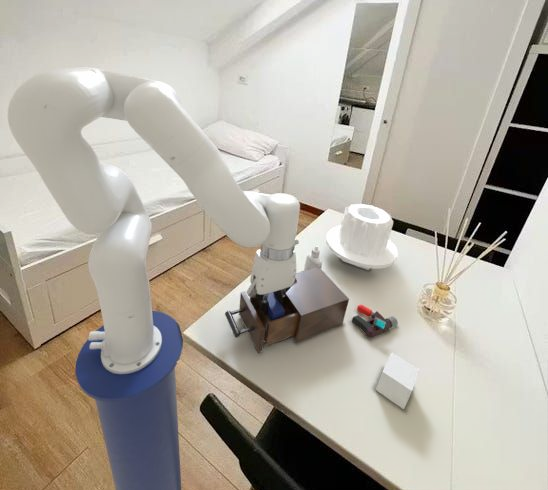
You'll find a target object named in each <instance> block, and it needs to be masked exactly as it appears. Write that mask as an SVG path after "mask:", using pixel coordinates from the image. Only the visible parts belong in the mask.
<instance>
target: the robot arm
mask: <svg viewBox="0 0 548 490" xmlns="http://www.w3.org/2000/svg"><path fill="white" fill-rule="evenodd" d="M100 118H107V119H112V120H117V121H118V120H119V121H124V122H127V123H128V125H129V127H131V129H133V131H134V132H135V133H136V134H137V135H138V136H139V137H140V138H141V139H142V140H143V141H144V143H146V144H147V145H148V146H149V147H150V148H151V149H152V150H153V151H154V152H155V153H156V154H157V155H158V156H159V157H160V158H161V159H162V161H164V162H165V163H166V164H167V166H169V167H170V168H171V169H172V170H173V172H174V173H176V174H177V176H179V178H180V179H181V180H182V181H183V183H184V184H185V185H186V187H187V189H188V191H189V192H190V193H191V194H192V196H193V197H194V199H195V200H196V201H197V203H198V204H199V205H200V207H201V208H202V210H203V211H204V212H205V214H206V215H207V216H208V217H209V219H210V220H211V221H212V223H213V224H214V225H215V226H216V227H217V228H219V230H220V231H222V232H223V234H224V235H226V236H227V237H228V238H229V239H230V240H231V241H232V242H233V243H234V244H236V245H238V246H240V247H242V248H245V249H253V248H258V247H260V249H257V250H256V252H255V255H254V259H253V262H252V267H251V272H250V285H249V287H248V289H247V290H246V294H247V296H248V298H250V297H256V298H257V299H259V308H260V310H261V311H263V313H264V315H267V314H268V306H269V302H268V300H267V299H268V294H269V293H271V292H274V295H275V296H276V298H277V299H278V301H279V302H280V304H281V305H282V302H283V297H285V296H286V292H287V291H288V290H289V289H290V288H291V287H292V286H293V285H294V284H296V283H297V280H296V278H295V276H296V273H297V255H296V250H295V247H296V246H297V245H299V243H300V240H299V239H298V238H297V231H298V225H299V218H300V212H301V203H300V201H299V200H298V198H297V197H296V196H294V195H292V194H289V193H285V192H284V193H283V192H277V193H272V194H271V193H270V194H269V193H264V192H263V193H262V192H257V191H251V190H243V189H242V188H241V186H240V185H239V184H238V182H237V181H236V179H235V178H234V176H233V174H232V172H231V171H230V168H229V166H228V164H227V162H226V160H225V158H224V156H223V154H222V153H221V151H220V150H219V148H218V147H217V146H216V145H215V143H214V142H213V141H212V140H211V139H210V138H209V136H207V134H206V133H205V132H204V130H202V129H201V127H200V126H199V125H198V124H197V122H196V121H195V120H194V119H193V118H192V117H191V115H190V114H189V113H188V111H186V110H185V108H184V107H183V106H182V103H181V100H180V97H179V95H178V93H177V92H176V90H175V89H174V88H173V87H172V86H171V85H169V84H167V83H165V82H163V81H160V80H156V79H152V78H151V79H150V78H145V77H140V76H135V75H130V74H125V73H120V72H117V71H111V70H107V69H102V68H97V67H91V66H69V67H57V68H51V69H48V70H44V71H40V72H38V73H36V74H34V75H33V76H30V77H29V78H28V79H26V80H25V81H23V82H22V83H21V85H19V87H18V88H17V89H16V90H15V91H14V93H13V95H12V96H11V97H10V101H9V104H8V107H7V121H8V122H7V123H8V126H9V130H10V132H11V134H12V136H13V138H14V140H15V141H16V143H17V145H18V146H19V147H20V149H21V150H22V152H23V154H25V156H26V157H27V158H28V160H29V161H30V163H31V164H32V165H33V167H34V168H35V170H36V171H37V173H38V174H39V176H40V178H41V180H42V181H43V183H44V185H45V187H46V188H47V190H48V191H49V193H50V194H51V196H52V197H53V199H54V200H55V202H56V204H57V206H58V207H59V208H60V210H61V212H62V213H63V215H64V216H65V218H66V219H67V221H68V223H70V224H71V225H72V226H73V228H74V229H76V230H78V231H79V232H81V233H85V234H88V235H94V234H98V235H97V237H96V238H95V241H94V242H93V245H92V247H91V250H90V252H89V255H88V259H87V268H88V271H89V275H90V277H91V279H92V281H93V283H94V286H95V290H96V293H97V298H98V302H99V303H98V304H99V307H100V312H101V313H100V314H101V318H102V324H103V325H104V330H105V332H100V331H97V330H94V331H93V330H92V331H90V332H89V334H88V337H87V340H89V341H97V340H103V342H91V344H90V349H101V350H102V351H101V361H102V364H103V366H104V367H105V368H106V369H107V370H108V371H109V372H112V373H115V374H129V373H133V372H136V371H138V370H140V369H142V368H144V367H145V366H147V365H148V364H150V363H151V362H152V361H153V360H154V359H155V357H156V356H157V355H158V353H159V351H160V349H161V345H162V336H161V333H160V331H159V329H158V328H156V327H155V326H154V325H153V315H152V311H153V306H152V295H151V285H150V284H151V283H150V277H149V273H148V269H147V256H148V251H149V246H150V241H151V237H152V231H153V224H152V220H151V217H150V215H149V212H148V211H147V209H146V207H145V204H144V202H143V201H142V197H141V196H140V194H139V192H138V190H137V188H136V186H135V183H134V182H133V180H132V179H131V177H130V176H129V175H128V173H126V171H124V170H123V169H122V168H120V167H118V166H116V165H113V164H110V163H101V162H100V159H99V157H98V155H97V154H96V151H95V150H94V148H93V147H92V146H91V144H90V143H89V142H88V141H87V140H86V139H85V138H84V137H83V135H82V130H83V129H84V127H86V126H88V125H89V124H92V123H93V122H94V121H97V120H98V119H100Z"/></svg>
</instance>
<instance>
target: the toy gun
mask: <svg viewBox="0 0 548 490" xmlns="http://www.w3.org/2000/svg"><path fill="white" fill-rule="evenodd" d="M356 309H357V311H358V312H359V313H360V314H362V315H363V316H366V317H367V318H370V319H368V320H365V319H364V318H363V317H362V316H360V315H354V316H352V319H351V323H352V324H353V325H354V326H356V327H357V328H359V330H361V331H362V332H363V333H364V335H365V336H366V338H369V339H373V338H374V337H377V336H379V335H381V334H384V333H386V332H388V331H390V329H392V328H395V327H397V326H398V325H399V324H398V322H399V321H398V319H397V318H396V317H395V316H394V315H392V316H389V317H387V318H385V317H384V316H383V315H382V314H381V313H380V312H379V311H378V310H377V311H373V309H370V308H369V307H366V305H363V304H358V305H357V308H356Z"/></svg>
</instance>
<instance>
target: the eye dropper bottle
mask: <svg viewBox="0 0 548 490" xmlns="http://www.w3.org/2000/svg"><path fill="white" fill-rule="evenodd" d="M320 253H321V249H320V248H319V246H318V245H315V247H313V248H312V249H311V252H309V253H307V254H306V258H305V264H304V269H303V271H305V270H309V269H313V268H317V267H320V269H321V270H322V267H323V261H322V259H321V256H320Z"/></svg>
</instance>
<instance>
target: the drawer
mask: <svg viewBox="0 0 548 490" xmlns="http://www.w3.org/2000/svg"><path fill="white" fill-rule="evenodd" d="M273 293H274V292H273ZM239 294H240V296H239V297H240V298H239V308H238V309H234V310H232V311H231V310H226V311H225V313H224V316H225V317H226V320H227V322H228V324H229V327H230V330H231V331H232V334H233V337H234V338H236V339H237V338H240V336H241V335H243V334H246V333H248V335H249V337H250V339H251V341H252V343H253V345H254V348H255V349H256V352H257V353H262V352H263V351H264V344H265V345H266V346H270V345H272V344H274V343H277V342H280V341H283V340H286V339H288V338H291V337H292V336H293V335H296V331H297V325H298V320H299V315H298V313H297V312H296V310H295V309H294V307H293V306H292V305H291V303H290V302H289V300H288V299H287V297H286V296H285V297H283V302H282V307H283V308H284V310H285V313H284V317H282V318H279V319H276V320H273V321H271V320H270V318H269V316H268V315H264V313H263V311H261V310H260V308H259V299H257V298H256V297H249V296H248V294H247V292H246V291H245V290H244V291H241V292H240V293H239ZM236 314H239V316H240V319H241V321H242V323H243V325H244V329H241V330H239V327H238V325H237V323H236V320H235V318H234V315H236Z"/></svg>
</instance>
